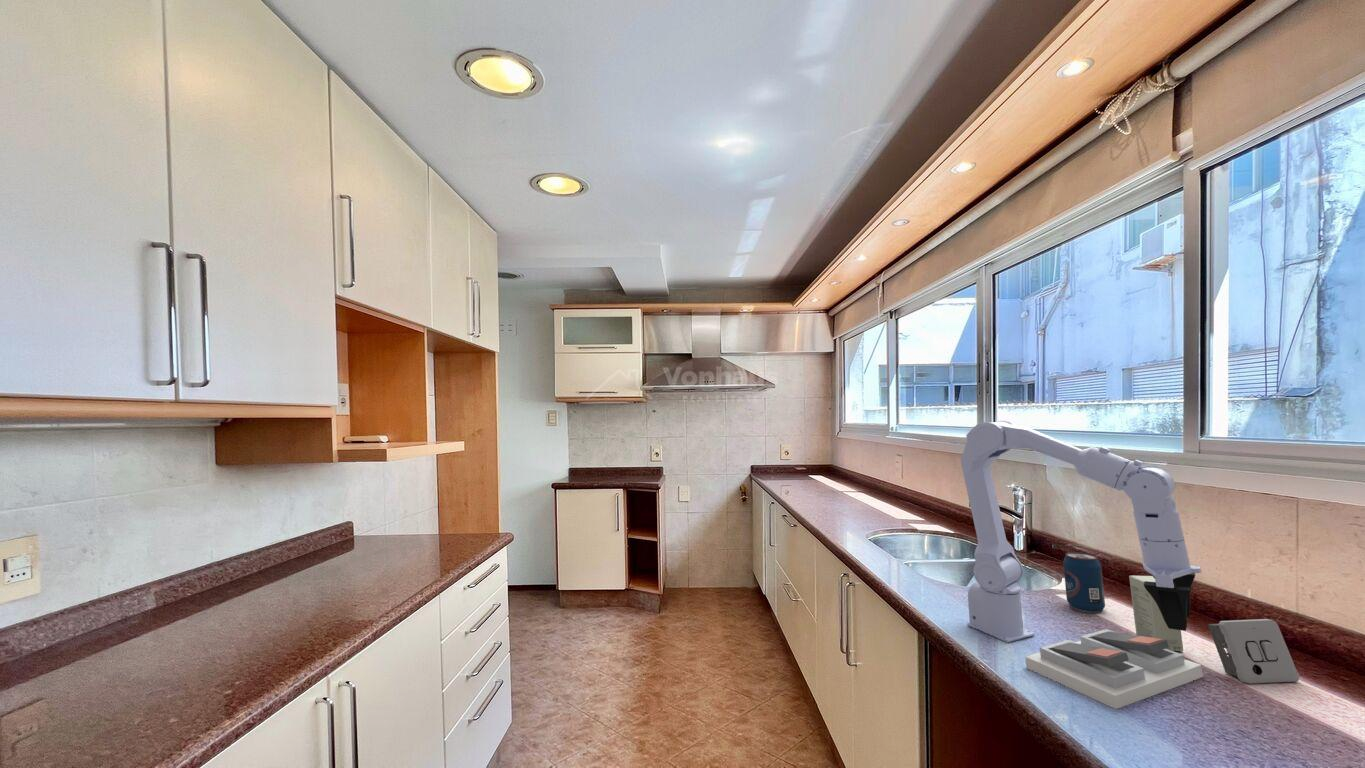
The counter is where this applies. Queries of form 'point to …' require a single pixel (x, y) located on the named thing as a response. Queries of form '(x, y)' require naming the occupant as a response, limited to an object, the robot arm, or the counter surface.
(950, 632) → the counter surface
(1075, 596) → the soda can
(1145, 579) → the skincare box
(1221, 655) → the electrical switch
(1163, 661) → the breaker panel
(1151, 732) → the counter surface
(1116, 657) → the rocker
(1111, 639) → the rocker
